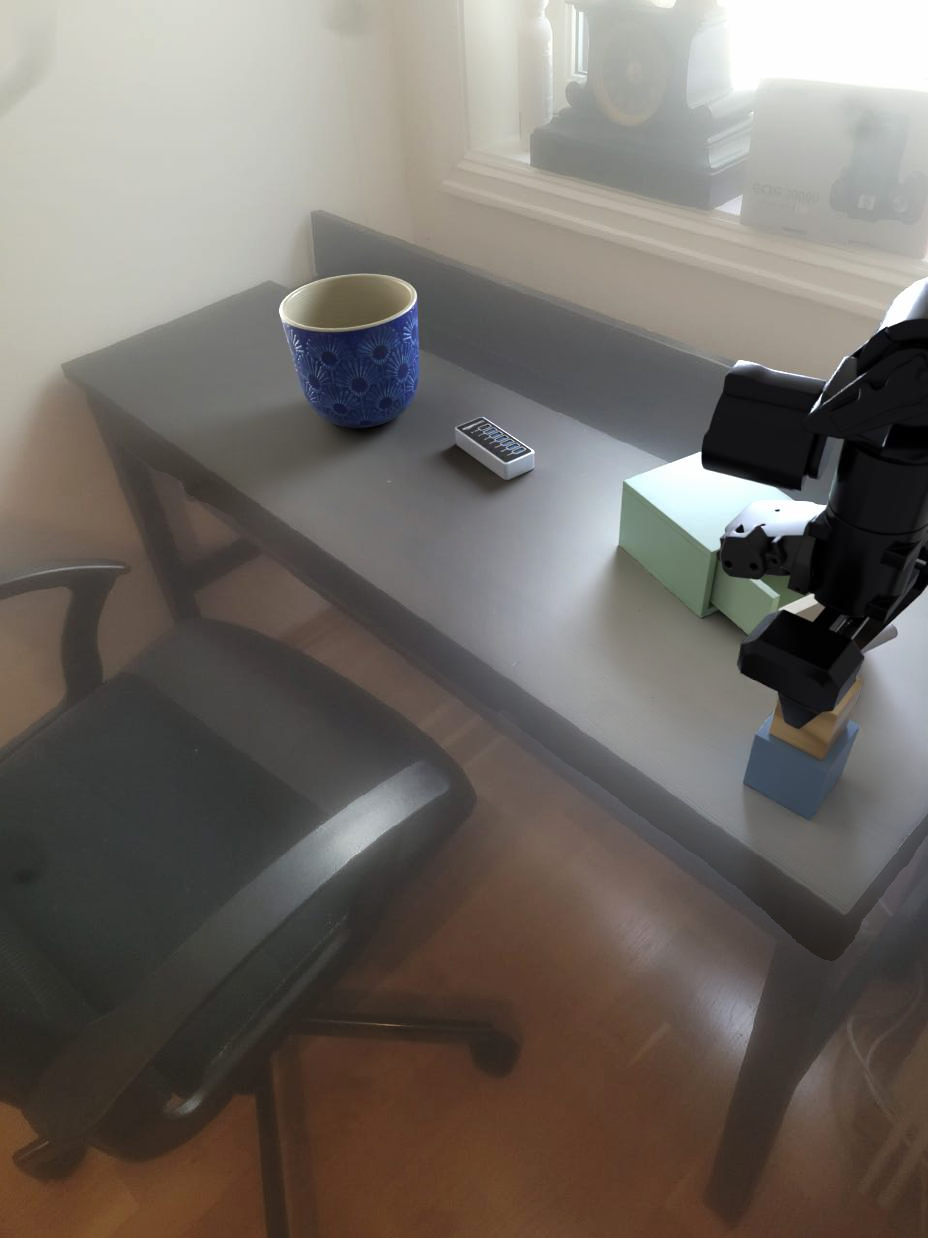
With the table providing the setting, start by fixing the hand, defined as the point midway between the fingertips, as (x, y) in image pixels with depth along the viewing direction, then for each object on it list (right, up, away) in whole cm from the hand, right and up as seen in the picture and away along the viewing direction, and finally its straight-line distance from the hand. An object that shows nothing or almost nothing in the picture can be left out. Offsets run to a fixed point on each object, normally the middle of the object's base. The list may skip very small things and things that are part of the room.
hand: (822, 686), depth 61 cm
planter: (-39, +33, +55) cm, 75 cm away
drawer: (+5, +4, +19) cm, 20 cm away
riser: (+1, -8, +7) cm, 11 cm away
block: (0, -4, +3) cm, 5 cm away
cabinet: (-1, +11, +28) cm, 30 cm away
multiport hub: (-22, +25, +45) cm, 56 cm away
